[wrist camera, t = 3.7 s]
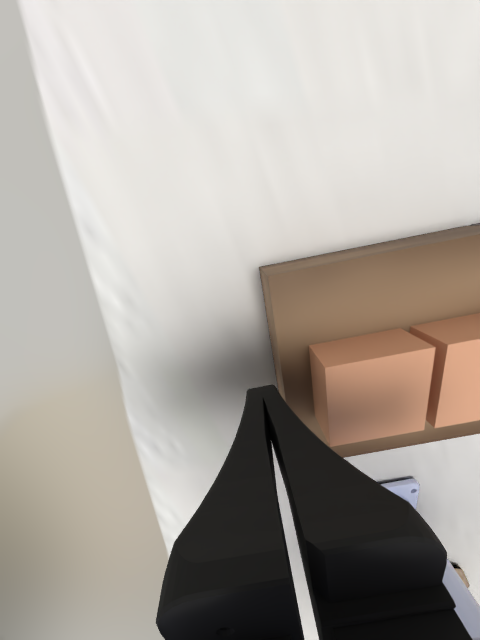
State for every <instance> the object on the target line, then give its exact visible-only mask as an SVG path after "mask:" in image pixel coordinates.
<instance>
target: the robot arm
mask: <svg viewBox="0 0 480 640" xmlns="http://www.w3.org/2000/svg"><path fill="white" fill-rule="evenodd" d="M271 441H272V444H273V448H274V451H275V454H276V458H277V461H278V464H279V468H280V471H281V474H282V478H283V481H284V484H285V488H286V491H287V495H288V499H289V503H290V508H291V512H292V517H293V521H294V526H295V530H296V535H297V539H298V544H299V549H300V553H301V558H302V562H303V567H304V571H305V576H306V581H307V585H308V590H309V594H310V599H311V604H312V608H313V613H314V618H315V622H316V627H317V631H318V636H319V640H480V606H479V604H478V603H477V602H476V600H475V599H474V597H473V596H472V594H471V593H470V591H469V590H468V588H467V587H466V585H465V584H464V582H463V581H462V579H461V578H460V576H459V575H458V573H457V572H456V570H455V569H454V568H453V566H452V565H451V563H450V562H449V560H448V559H447V552H446V550H445V548H444V547H443V545H442V543H441V542H440V540H439V539H438V537H437V536H436V535H435V533H434V532H433V530H432V529H431V528H430V527H429V525H428V524H427V523H426V522H425V521H424V519H423V518H422V517H421V516H420V514H419V513H418V512H417V511H416V506H417V500H418V493H419V486H420V485H419V483H418V482H417V481H416V480H415V479H407V480H402V481H396V482H390V483H385V484H379V483H377V482H376V481H374V480H373V479H371V478H370V477H368V476H367V475H365V474H364V473H362V472H361V471H360V470H358V469H357V468H356V467H354V466H353V465H352V464H350V463H349V462H348V461H346V460H345V459H344V458H342V457H341V456H340V455H338V454H337V453H336V452H334V451H333V450H332V449H331V448H330V447H329V446H327V445H326V444H325V443H324V442H323V441H322V440H321V439H319V438H318V437H317V436H316V435H315V434H314V433H313V432H312V431H311V430H310V429H309V428H308V427H307V426H306V425H305V424H304V423H303V422H302V421H301V420H300V419H299V417H298V416H297V415H296V414H295V413H294V412H293V411H292V409H291V408H290V407H289V406H288V404H287V403H286V402H285V401H284V399H283V398H282V396H281V395H280V393H279V392H278V390H277V389H276V387H275V386H274V385H268V386H263V387H258V388H252V389H248V391H247V396H246V402H245V407H244V411H243V415H242V418H241V422H240V425H239V428H238V431H237V434H236V437H235V439H234V442H233V444H232V447H231V449H230V451H229V454H228V456H227V458H226V460H225V462H224V464H223V466H222V468H221V470H220V472H219V474H218V476H217V478H216V480H215V481H214V483H213V485H212V487H211V488H210V490H209V492H208V493H207V495H206V496H205V498H204V500H203V501H202V503H201V505H200V506H199V508H198V509H197V511H196V512H195V514H194V515H193V517H192V518H191V519H190V521H189V522H188V524H187V525H186V527H185V528H184V529H183V531H182V532H181V534H180V535H179V536H178V538H177V539H176V541H175V542H174V545H173V548H172V551H171V554H170V558H169V561H168V565H167V568H166V572H165V576H164V580H163V584H162V590H161V595H160V601H159V607H158V612H157V618H156V624H157V626H158V629H159V631H160V633H161V635H162V636H163V637H164V638H165V640H304V635H303V630H302V625H301V619H300V614H299V609H298V603H297V598H296V593H295V588H294V582H293V577H292V572H291V566H290V561H289V556H288V550H287V545H286V540H285V534H284V529H283V524H282V518H281V513H280V508H279V502H278V496H277V489H276V480H275V471H274V462H273V453H272V444H271Z"/></svg>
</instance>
